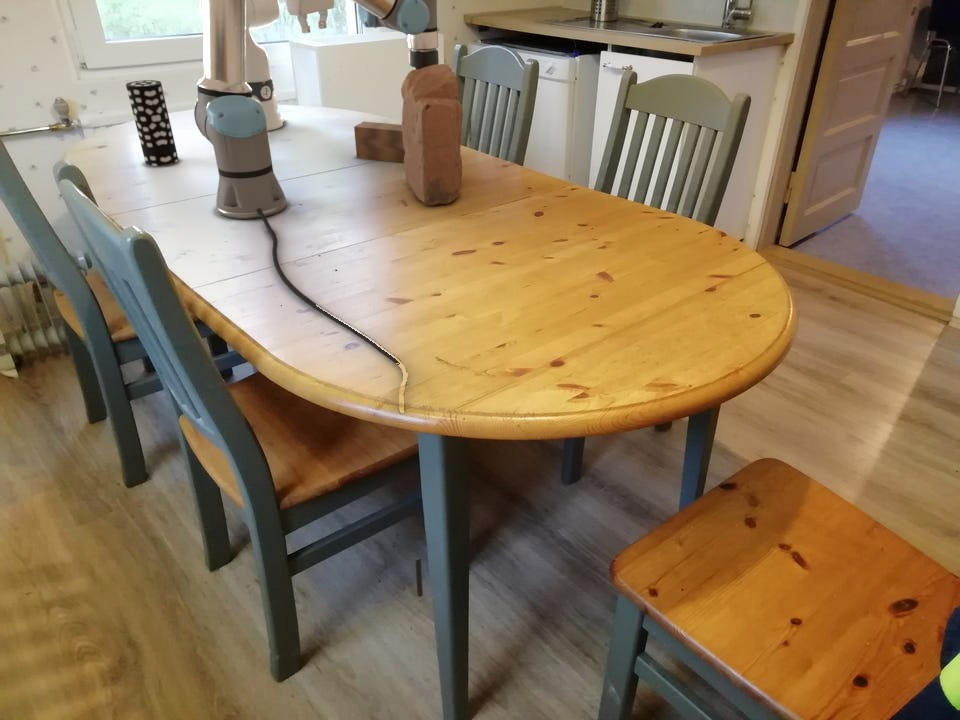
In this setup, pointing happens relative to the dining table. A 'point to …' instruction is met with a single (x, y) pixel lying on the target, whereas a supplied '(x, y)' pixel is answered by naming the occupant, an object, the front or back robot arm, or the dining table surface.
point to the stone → (432, 134)
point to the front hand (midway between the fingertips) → (427, 134)
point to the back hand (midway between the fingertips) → (314, 30)
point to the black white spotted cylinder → (152, 122)
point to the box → (379, 141)
